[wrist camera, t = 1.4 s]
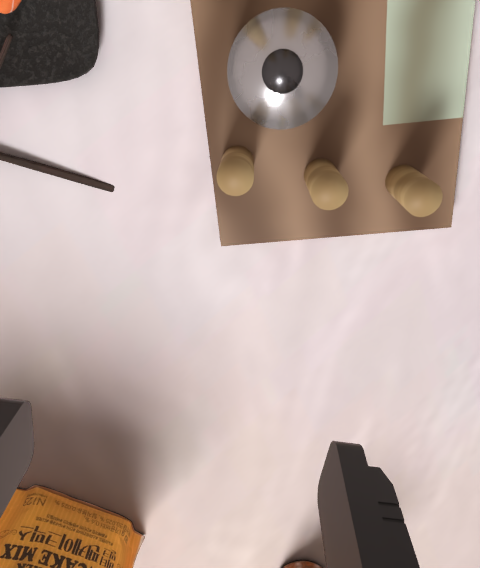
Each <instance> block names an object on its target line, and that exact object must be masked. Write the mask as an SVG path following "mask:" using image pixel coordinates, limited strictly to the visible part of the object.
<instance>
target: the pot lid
mask: <svg viewBox="0 0 480 568" xmlns="http://www.w3.org/2000/svg"><path fill="white" fill-rule="evenodd" d="M337 75H338V57H337V52H336V48H335V45H334V42H333V40H332V38H331V36H330V34H329V32H328V31H327V29H326V28H325V27H324V26H323V24H322V23H321V22H320V21H318V20H317V19H316V18H315V17H313V16H312V15H310V14H309V13H307V12H304V11H302V10H299V9H295V8H287V7H285V8H275V9H271V10H268V11H265V12H263V13H261V14H259V15H257V16H256V17H254V18H253V19H251V20H250V21H249V22H248V23H247V24H246V25H245V26H244V27H243V28H242V29H241V31H240V32H239V33H238V35H237V37H236V38H235V40H234V42H233V45H232V47H231V50H230V53H229V58H228V64H227V79H228V85H229V88H230V92H231V95H232V97H233V99H234V101H235V103H236V104H237V106H238V107H239V109H240V110H241V111H242V112H243V113H244V114H245V115H246V116H247V117H248V118H249V119H250V120H252V121H253V122H255V123H257V124H258V125H261V126H263V127H266V128H270V129H277V130H282V129H291V128H295V127H298V126H300V125H303V124H305V123H307V122H308V121H310V120H311V119H313V118H314V117H315V116H316V115H317V114H318V113H319V112H320V111H321V110H322V109H323V108H324V107H325V105H326V104H327V102H328V101H329V99H330V97H331V95H332V93H333V91H334V88H335V84H336V81H337Z"/></svg>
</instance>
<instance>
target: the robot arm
mask: <svg viewBox="0 0 480 568" xmlns="http://www.w3.org/2000/svg"><path fill="white" fill-rule="evenodd" d="M33 451H34V434H33V422H32V409H31V404H30V402H29V401H22V400H15V399H7V398H0V518H1V516H2V514H3V513H4V511H5V509H6V507H7V505H8V504H9V502H10V500H11V498H12V496H13V495H14V493H15V491H16V489H17V487H18V486H19V484H20V482H21V480H22V478H23V477H24V475H25V473H26V471H27V469H28V467H29V465H30V462H31V460H32V456H33ZM318 509H319V516H320V523H321V530H322V537H323V544H324V551H325V558H326V565H327V568H420V567H419V564H418V561H417V558H416V555H415V552H414V548H413V545H412V542H411V539H410V536H409V533H408V530H407V527H406V524H404V518H403V515H402V511H401V508H399V502H398V499H397V496H396V493H395V490H394V487H393V484H392V483H391V482H390V480H389V479H388V478H387V476H386V475H385V474H384V472H383V471H382V470H381V468H379V467H371V466H368V464H367V461H366V457H365V454H364V450H363V447H362V446H361V445H360V444H353V443H345V442H337V441H332V442H331V444H330V447H329V450H328V453H327V457H326V460H325V463H324V467H323V470H322V473H321V476H320V480H319V485H318Z"/></svg>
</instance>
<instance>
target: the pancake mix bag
mask: <svg viewBox="0 0 480 568" xmlns="http://www.w3.org/2000/svg"><path fill="white" fill-rule="evenodd" d="M144 538H145V536H143V535H142V534H140V533H138V532H137V531H135V530H134V528H133V525H132V522H131V521H130V520H128V519H126V518H124V517H123V516H121V515H118V514H116V513H113V512H111V511H108V510H105V509H103V508H100V507H98V506H95V505H92V504H90V503H87V502H84V501H81V500H78V499H75V498H72V497H70V496H68V495H65V494H63V493H61V492H58V491H55V490H52V489H49V488H46V487H42V486H39V485H34V486H32V487H30V488H28V489H26V490H24V489H16V491H15V493H14V495H13V496H12V498H11V500H10V502H9V504H8V505H7V507H6V509H5V511H4V513H3V514H2V516H1V518H0V568H133V566H134V562H135V559H136V556H137V554H138V551H139V549H140V547H141V545H142V542H143V540H144Z"/></svg>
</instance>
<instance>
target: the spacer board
mask: <svg viewBox="0 0 480 568" xmlns="http://www.w3.org/2000/svg"><path fill="white" fill-rule="evenodd" d="M190 1H191V9H192V17H193V25H194V33H195V41H196V49H197V57H198V65H199V73H200V81H201V89H202V97H203V105H204V113H205V121H206V129H207V137H208V145H209V153H210V160H211V168H212V176H213V184H214V192H215V200H216V208H217V216H218V224H219V232H220V240H221V246H229V245H241V244H254V243H266V242H278V241H290V240H302V239H314V238H326V237H339V236H351V235H363V234H375V233H387V232H399V231H411V230H424V229H436V228H448V227H451V224H452V215H453V205H454V196H455V186H456V177H457V168H458V158H459V149H460V139H461V130H462V121H463V112H464V103H465V94H466V84H467V75H468V65H469V56H470V47H471V37H472V28H473V18H474V9H475V0H190ZM285 7H287V8H295V9H299V10H302V11H304V12H307V13H309V14H310V15H312V16H313V17H315V18H316V19H317V20H318V21H320V22H321V23H322V24H323V26H324V27H325V28H326V29H327V31H328V32H329V34H330V36H331V38H332V40H333V42H334V45H335V48H336V52H337V57H338V75H337V81H336V84H335V88H334V91H333V93H332V95H331V97H330V99H329V101H328V102H327V104H326V105H325V107H324V108H323V109H322V110H321V111H320V112H319V113H318V114H317V115H316V116H315V117H314V118H313V119H311V120H310V121H308V122H307V123H305V124H303V125H300V126H298V127H295V128H291V129H282V130H277V129H270V128H266V127H263V126H261V125H258V124H257V123H255V122H253V121H252V120H250V119H249V118H248V117H247V116H246V115H245V114H244V113H243V112H242V111H241V110H240V109H239V107H238V106H237V104H236V103H235V101H234V99H233V97H232V95H231V92H230V88H229V85H228V79H227V64H228V58H229V53H230V50H231V47H232V45H233V42H234V40H235V38H236V37H237V35H238V33H239V32H240V31H241V29H242V28H243V27H244V26H245V25H246V24H247V23H248V22H249V21H250V20H251V19H253V18H254V17H256V16H257V15H259V14H261V13H263V12H265V11H268V10H271V9H275V8H285Z"/></svg>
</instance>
